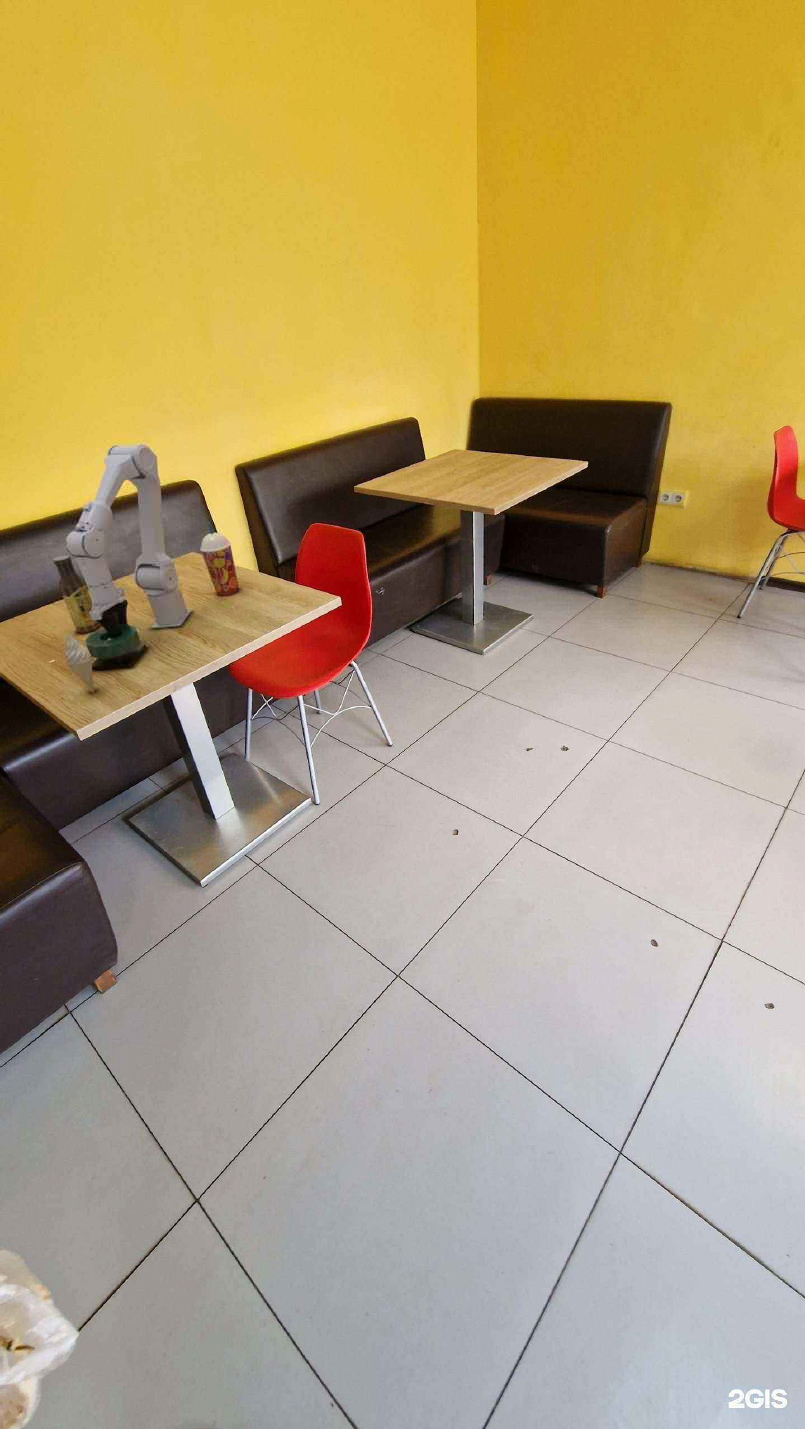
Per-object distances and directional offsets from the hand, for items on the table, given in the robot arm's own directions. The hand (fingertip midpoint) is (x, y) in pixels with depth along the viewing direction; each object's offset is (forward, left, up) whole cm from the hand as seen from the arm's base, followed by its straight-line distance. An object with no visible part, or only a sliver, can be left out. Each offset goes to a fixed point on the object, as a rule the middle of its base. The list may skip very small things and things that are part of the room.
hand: (120, 634), depth 155 cm
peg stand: (+4, 0, -5) cm, 6 cm away
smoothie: (-34, +17, -5) cm, 38 cm away
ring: (+4, 0, -1) cm, 4 cm away
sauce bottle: (-16, -17, -5) cm, 24 cm away
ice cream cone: (+19, 0, -5) cm, 20 cm away
